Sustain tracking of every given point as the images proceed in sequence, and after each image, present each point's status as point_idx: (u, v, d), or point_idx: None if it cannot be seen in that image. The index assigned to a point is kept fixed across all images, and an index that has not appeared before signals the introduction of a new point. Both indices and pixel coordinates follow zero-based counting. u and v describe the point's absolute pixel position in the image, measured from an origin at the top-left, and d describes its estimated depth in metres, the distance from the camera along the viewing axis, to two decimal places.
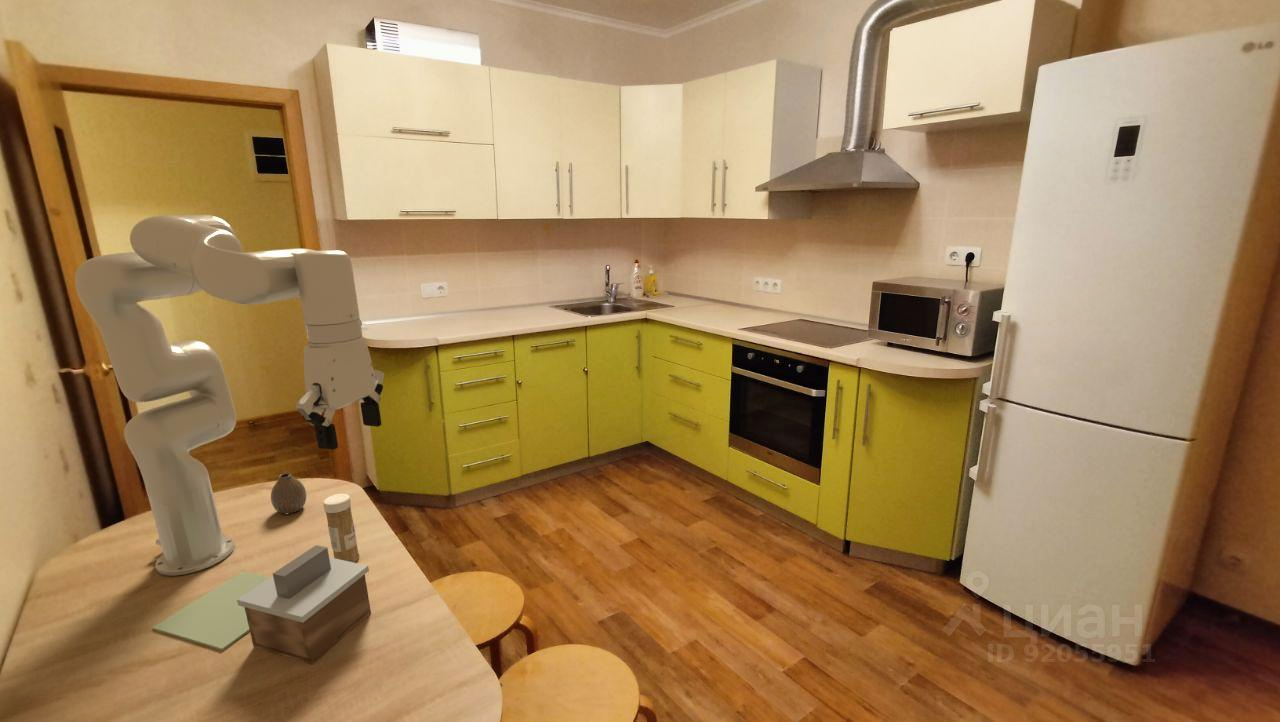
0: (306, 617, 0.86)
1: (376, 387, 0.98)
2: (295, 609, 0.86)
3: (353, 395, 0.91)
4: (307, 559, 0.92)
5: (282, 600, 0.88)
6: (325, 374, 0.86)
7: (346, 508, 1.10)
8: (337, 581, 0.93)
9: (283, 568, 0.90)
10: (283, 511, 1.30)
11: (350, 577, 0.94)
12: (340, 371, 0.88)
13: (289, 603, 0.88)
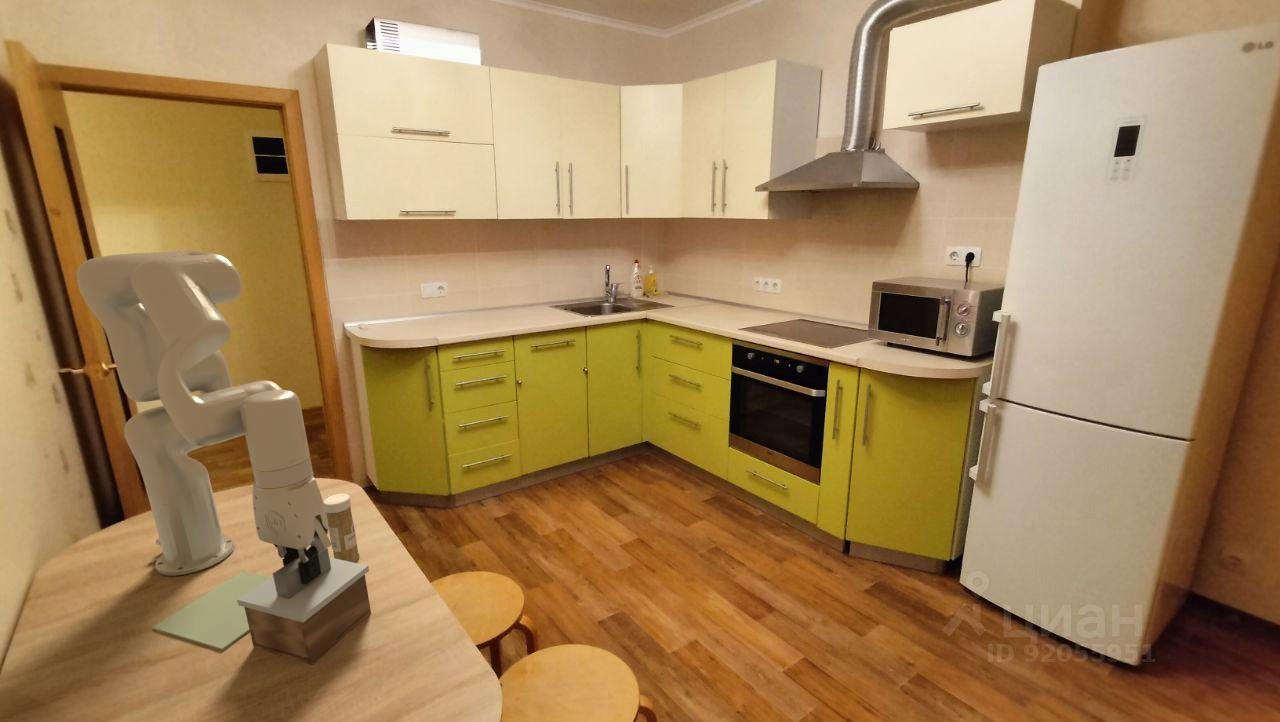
0: (306, 617, 0.86)
1: None
2: (295, 609, 0.86)
3: None
4: None
5: (282, 600, 0.88)
6: (321, 502, 0.89)
7: (346, 508, 1.10)
8: (337, 581, 0.93)
9: (283, 568, 0.90)
10: None
11: (350, 577, 0.94)
12: None
13: (289, 603, 0.88)
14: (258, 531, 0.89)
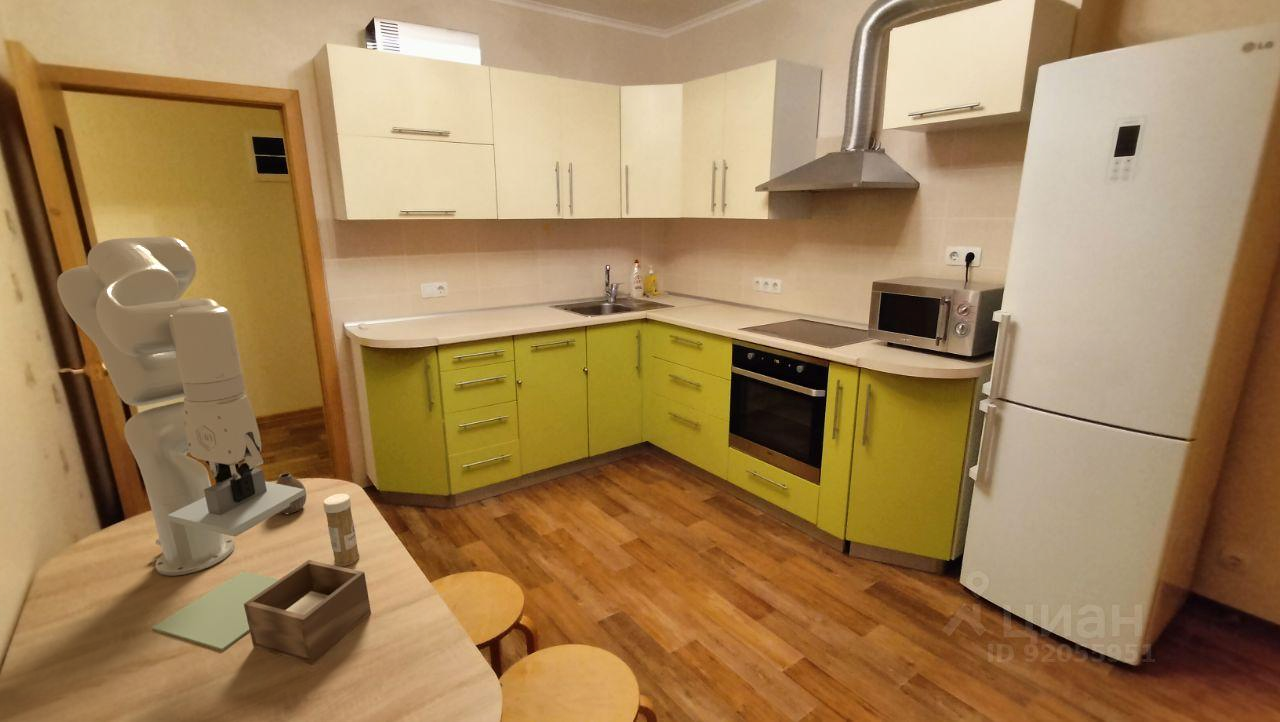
0: (235, 531, 0.86)
1: None
2: (225, 524, 0.87)
3: None
4: None
5: (213, 516, 0.89)
6: (254, 420, 0.89)
7: (346, 508, 1.10)
8: (271, 501, 0.93)
9: (215, 485, 0.90)
10: (283, 511, 1.30)
11: (284, 498, 0.94)
12: None
13: (219, 519, 0.88)
14: (189, 447, 0.89)
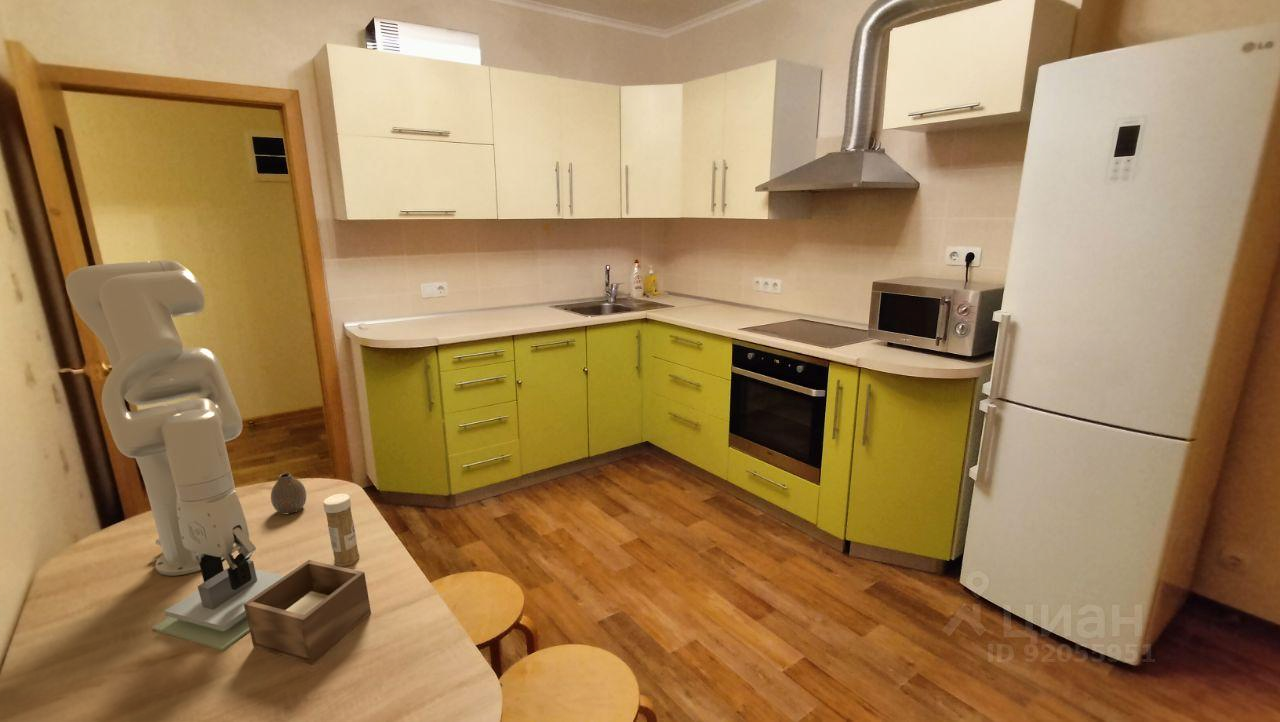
0: (227, 626, 0.93)
1: None
2: (217, 619, 0.94)
3: None
4: None
5: (206, 611, 0.96)
6: (242, 513, 0.96)
7: (346, 508, 1.10)
8: None
9: (208, 581, 0.97)
10: (283, 511, 1.30)
11: None
12: None
13: (212, 614, 0.95)
14: (183, 540, 0.96)
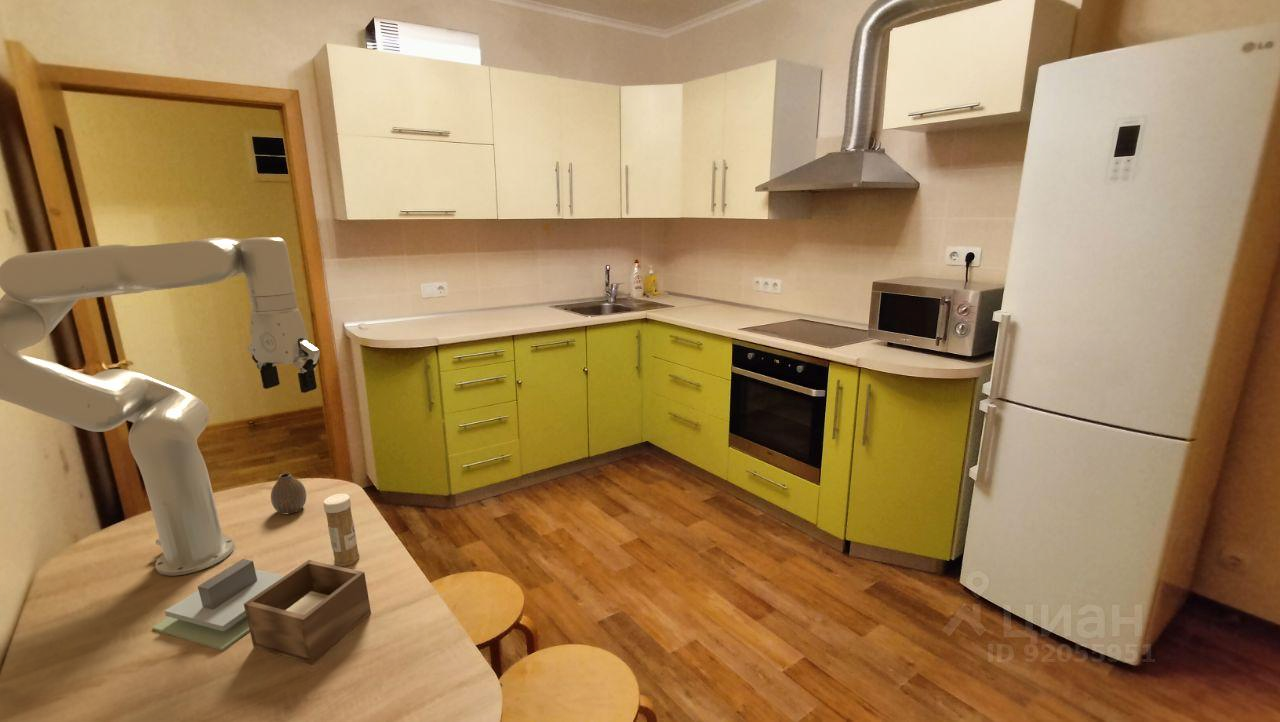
0: (227, 626, 0.93)
1: None
2: (217, 619, 0.94)
3: None
4: (232, 572, 0.99)
5: (206, 611, 0.96)
6: (304, 329, 1.12)
7: (346, 508, 1.10)
8: None
9: (208, 581, 0.97)
10: (283, 511, 1.30)
11: None
12: None
13: (212, 614, 0.95)
14: (254, 352, 1.12)
